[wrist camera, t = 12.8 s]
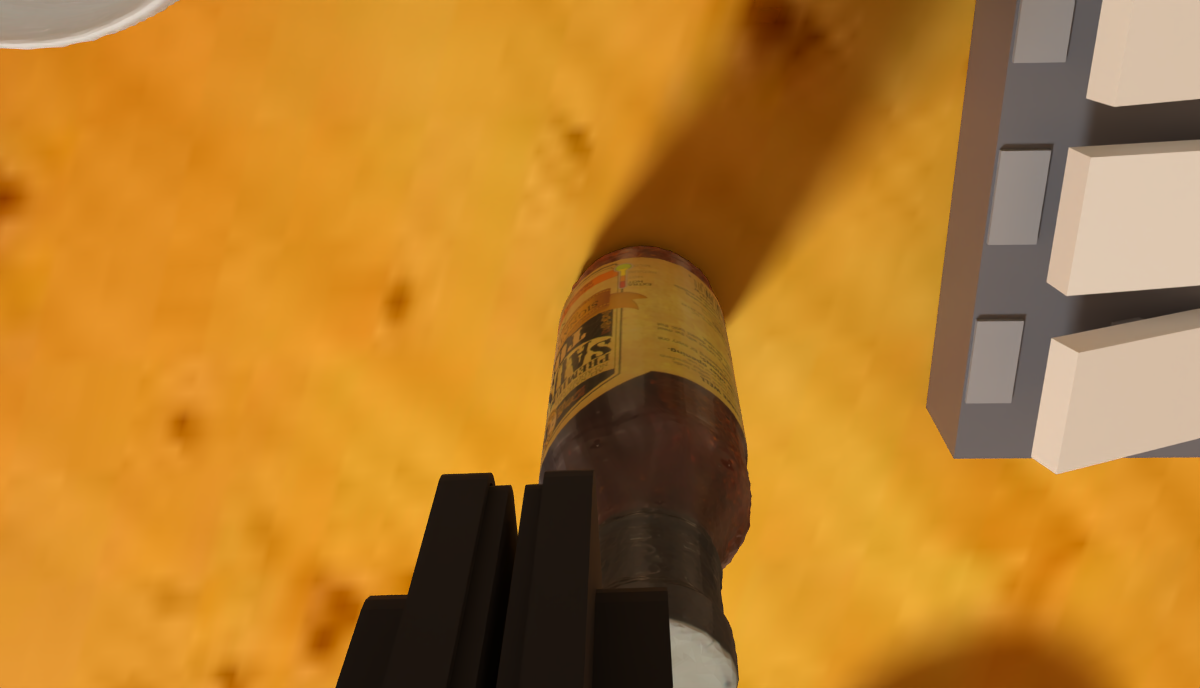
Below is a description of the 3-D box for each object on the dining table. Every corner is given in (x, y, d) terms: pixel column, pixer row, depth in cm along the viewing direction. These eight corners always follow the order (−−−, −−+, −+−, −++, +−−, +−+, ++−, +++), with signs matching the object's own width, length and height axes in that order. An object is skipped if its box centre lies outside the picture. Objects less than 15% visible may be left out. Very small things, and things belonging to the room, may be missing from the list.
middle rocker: (1053, 140, 34) (1093, 158, 32) (1284, 126, 35) (1338, 143, 33) (1032, 272, 36) (1068, 297, 34) (1253, 255, 37) (1301, 279, 35)
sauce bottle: (582, 221, 41) (551, 522, 23) (742, 261, 41) (835, 585, 23) (542, 372, 44) (487, 748, 25) (693, 408, 44) (742, 801, 26)
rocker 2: (1031, 327, 36) (1082, 354, 34) (1216, 291, 38) (1272, 314, 36) (1012, 444, 38) (1059, 476, 36) (1189, 402, 40) (1242, 430, 38)
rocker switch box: (992, -136, 35) (1037, -133, 32) (1336, -142, 35) (1422, -140, 31) (926, 407, 44) (955, 461, 40) (1203, 405, 44) (1258, 459, 40)
